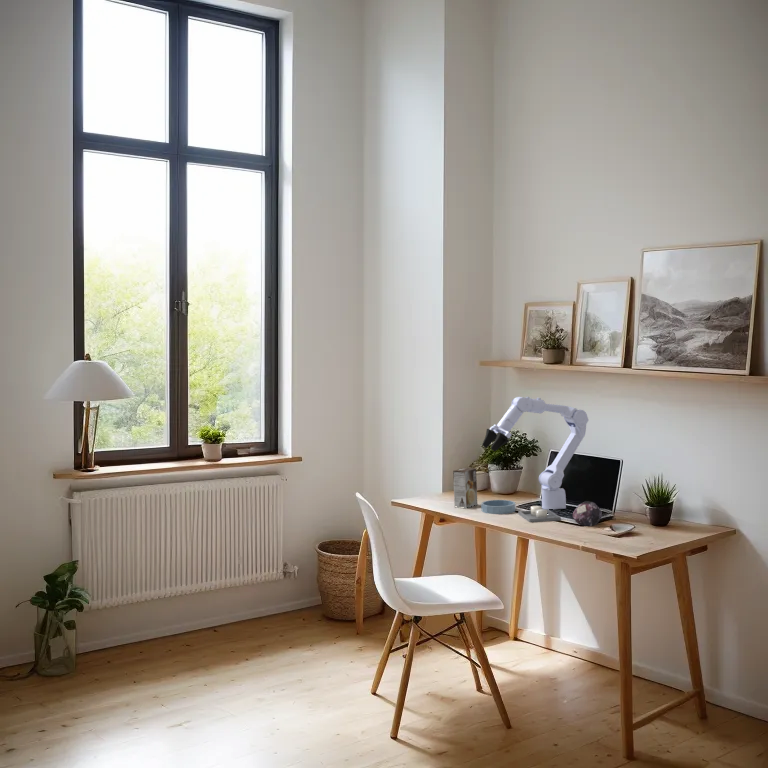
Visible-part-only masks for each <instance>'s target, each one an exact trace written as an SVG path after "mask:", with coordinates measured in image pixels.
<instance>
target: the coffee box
mask: <svg viewBox="0 0 768 768" xmlns="http://www.w3.org/2000/svg"><path fill="white" fill-rule="evenodd" d="M452 473H453V495H454V497H453V499H454V500H453V501H454V502H453V503H454V507H455V506H457V507H464V508H463V509H465V508H467V507H470V508H472V507H475V506H477V505H478V484H477V482H478V481H477V479H478V478H477V468H476V467H475V468H473V467H463V468H458V469H455V470H453V471H452ZM474 505H475V506H474ZM471 506H472V507H471ZM467 509H468V508H467Z"/></svg>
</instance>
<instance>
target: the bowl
mask: <svg viewBox="0 0 768 768" xmlns="http://www.w3.org/2000/svg"><path fill="white" fill-rule="evenodd" d="M516 505H517V503H516V502H515V501H514V500H507V499H491V500H485V501H482V502H481V504H480V506H481V512H482V513H484V514H488V515H489V514H491V515H503V514H505V515H507V514H512V513H515V512H516V511H517V509H516V508H517V507H516Z"/></svg>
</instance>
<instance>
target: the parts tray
mask: <svg viewBox="0 0 768 768" xmlns="http://www.w3.org/2000/svg"><path fill="white" fill-rule="evenodd" d="M545 510H547V513H548V514H549V515H547V518H536V516H531V509H530V510H518V515H519V516H520V517H522V518H523V520H525V521H527V522H529V523H538V522H539V523H540V522H541V523H542V522H555V521H561V516H559V515H558V514H557V513H555V512H554V511H551V510H549V509H545Z"/></svg>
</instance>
